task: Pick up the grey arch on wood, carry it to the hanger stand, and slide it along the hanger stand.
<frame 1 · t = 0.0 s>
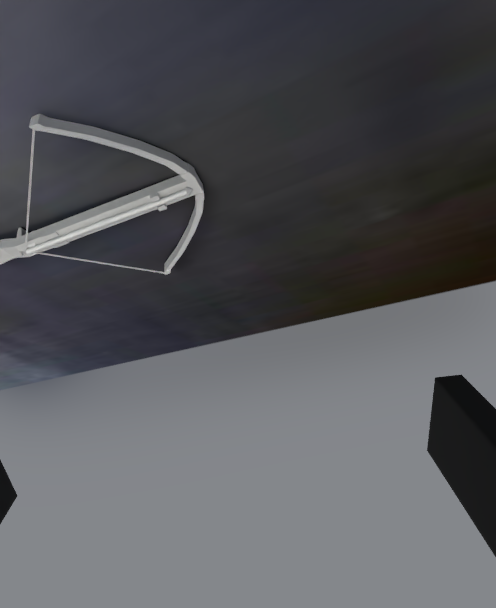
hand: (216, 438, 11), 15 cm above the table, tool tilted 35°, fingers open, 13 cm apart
crossbow: (80, 212, 24), on the table
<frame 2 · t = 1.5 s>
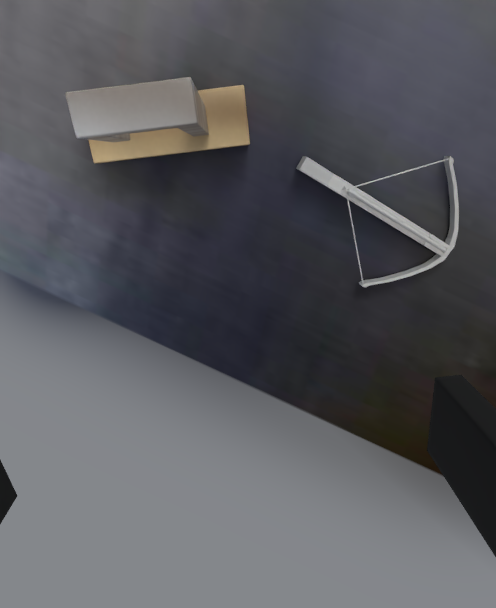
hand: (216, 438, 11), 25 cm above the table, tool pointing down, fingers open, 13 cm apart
crossbow: (374, 208, 34), on the table
grey arch on wood: (171, 127, 30), on the table
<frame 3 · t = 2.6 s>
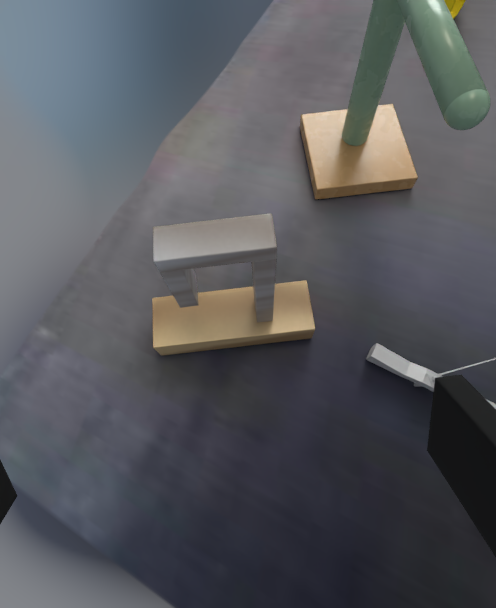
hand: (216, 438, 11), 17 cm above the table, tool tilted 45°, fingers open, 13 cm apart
hanger stand: (351, 148, 37), on the table
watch: (445, 22, 43), on the table
crossbow: (469, 406, 28), on the table
grey arch on wood: (234, 323, 31), on the table
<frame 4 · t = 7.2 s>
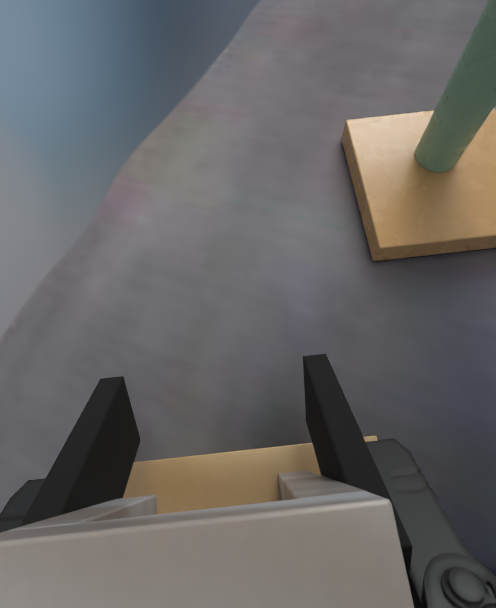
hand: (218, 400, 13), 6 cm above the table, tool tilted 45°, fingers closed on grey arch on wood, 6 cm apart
hanger stand: (425, 174, 23), on the table
grey arch on wood: (238, 500, 17), on the table, touching gripper
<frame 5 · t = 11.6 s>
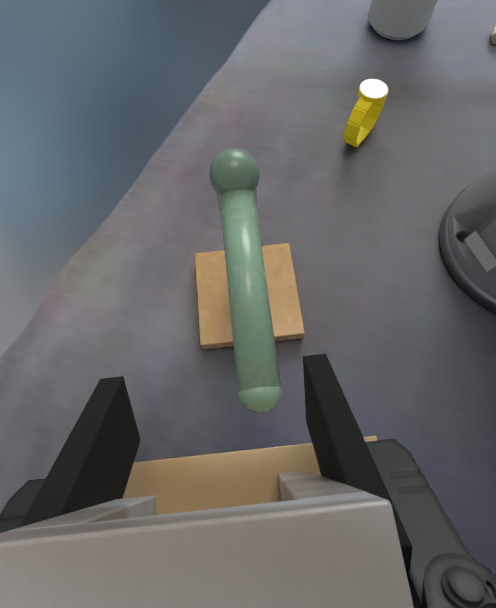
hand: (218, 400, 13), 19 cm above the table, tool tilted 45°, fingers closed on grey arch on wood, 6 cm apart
hanger stand: (246, 288, 36), on the table
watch: (358, 138, 42), on the table
can: (395, 26, 49), on the table
grey arch on wood: (238, 500, 17), point 14 cm above the table, touching gripper
when the fingers open (10 cm above the table, at t = 15.9 s): grey arch on wood stays where it is, resting on hanger stand.
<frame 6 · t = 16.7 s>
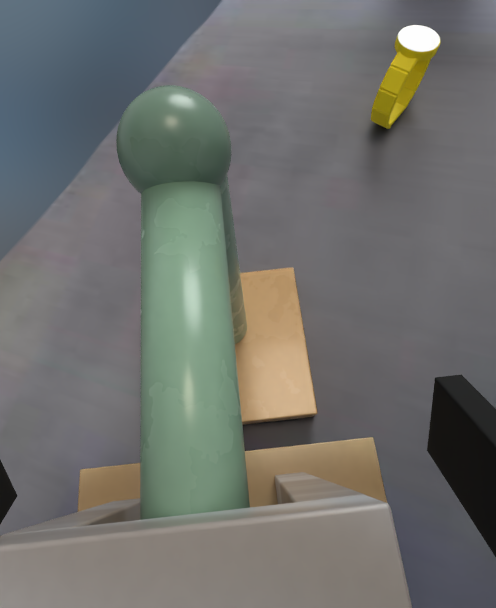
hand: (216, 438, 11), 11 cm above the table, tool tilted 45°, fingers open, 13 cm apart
hanger stand: (229, 334, 24), on the table
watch: (389, 117, 30), on the table
grey arch on wood: (235, 501, 17), point 4 cm above the table, touching hanger stand
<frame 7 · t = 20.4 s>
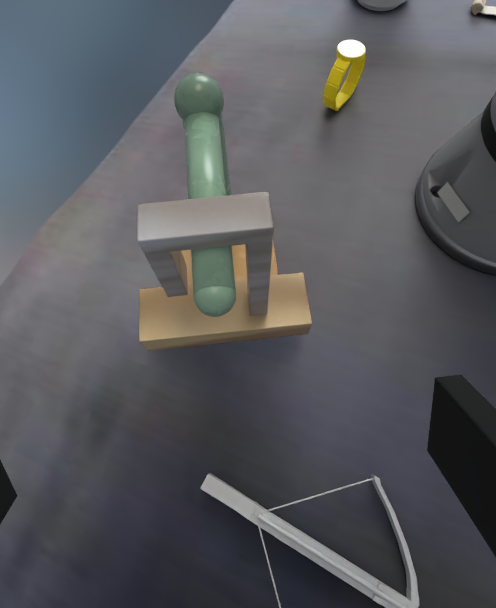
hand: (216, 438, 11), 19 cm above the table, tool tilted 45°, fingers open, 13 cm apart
hanger stand: (224, 243, 36), on the table
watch: (339, 103, 43), on the table
crossbow: (302, 540, 27), on the table
grey arch on wood: (226, 317, 29), point 4 cm above the table, touching hanger stand
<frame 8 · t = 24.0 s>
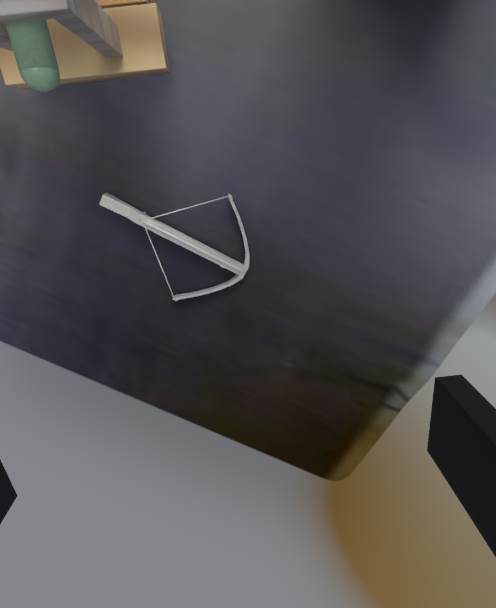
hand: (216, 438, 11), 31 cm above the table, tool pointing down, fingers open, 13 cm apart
crossbow: (179, 235, 40), on the table
grey arch on wood: (89, 52, 30), point 4 cm above the table, touching hanger stand
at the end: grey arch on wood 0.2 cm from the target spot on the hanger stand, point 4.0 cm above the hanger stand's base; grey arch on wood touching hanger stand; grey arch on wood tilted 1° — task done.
